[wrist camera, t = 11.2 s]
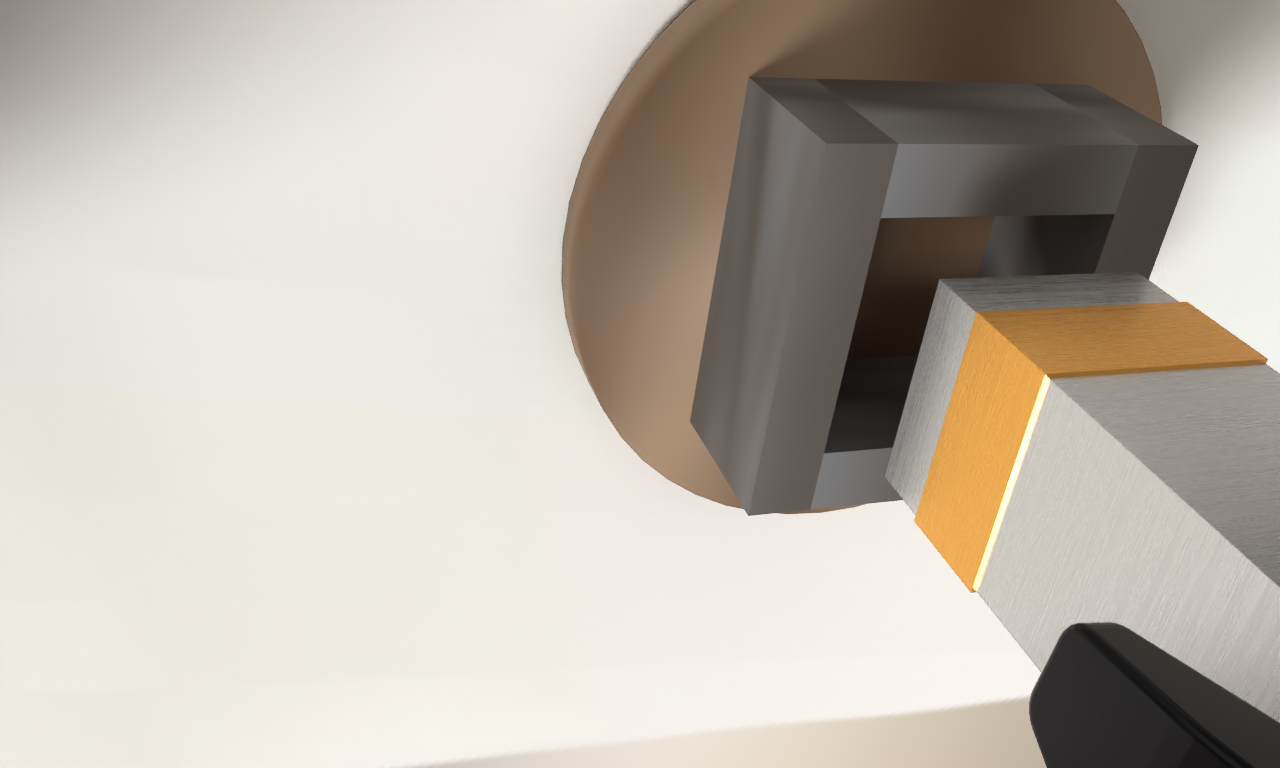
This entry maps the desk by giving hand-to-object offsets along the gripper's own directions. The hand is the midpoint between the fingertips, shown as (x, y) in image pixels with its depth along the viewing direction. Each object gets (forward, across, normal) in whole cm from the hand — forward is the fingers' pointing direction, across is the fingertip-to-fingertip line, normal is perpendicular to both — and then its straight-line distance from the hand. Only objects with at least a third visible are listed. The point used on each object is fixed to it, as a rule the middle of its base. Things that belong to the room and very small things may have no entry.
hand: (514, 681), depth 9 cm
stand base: (+14, -10, +2) cm, 17 cm away
